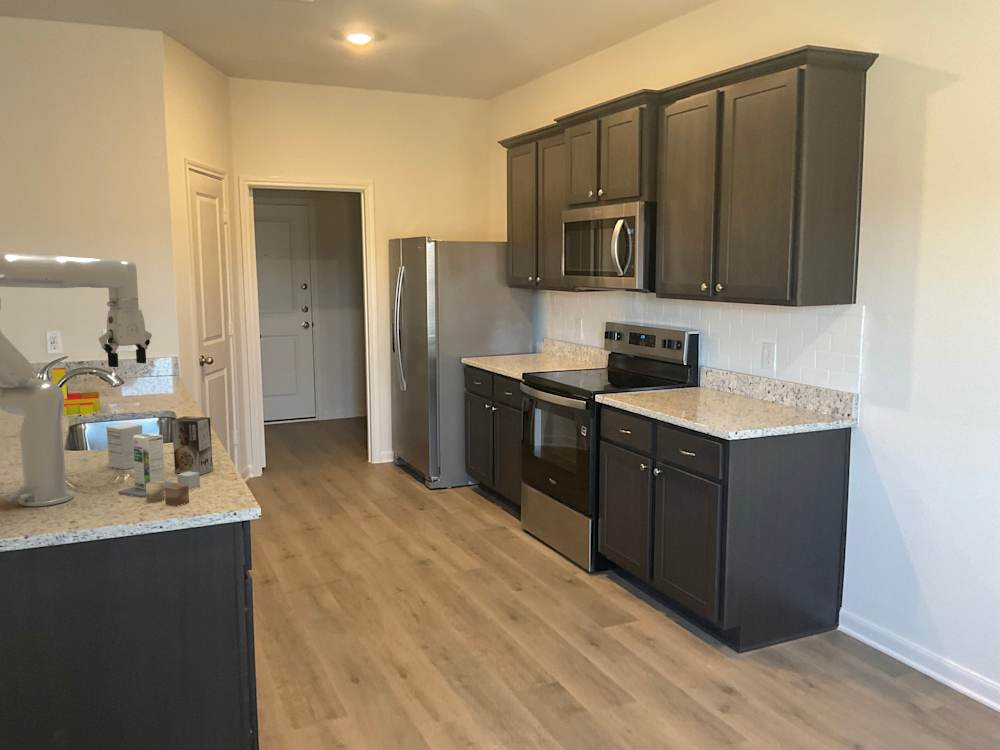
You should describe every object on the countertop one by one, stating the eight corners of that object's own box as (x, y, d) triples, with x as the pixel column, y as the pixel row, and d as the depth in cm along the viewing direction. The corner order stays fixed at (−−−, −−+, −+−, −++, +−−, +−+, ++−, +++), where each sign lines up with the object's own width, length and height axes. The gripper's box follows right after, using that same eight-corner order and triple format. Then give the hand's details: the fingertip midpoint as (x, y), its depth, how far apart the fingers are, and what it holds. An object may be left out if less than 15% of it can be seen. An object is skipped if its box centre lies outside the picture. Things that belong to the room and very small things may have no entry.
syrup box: (134, 488, 220) (130, 435, 219) (153, 483, 225) (150, 431, 224) (147, 491, 218) (144, 438, 216) (166, 486, 223) (163, 434, 221)
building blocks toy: (47, 419, 323) (43, 374, 320) (50, 410, 345) (47, 367, 343) (100, 416, 331) (97, 371, 329) (99, 406, 353) (96, 364, 351)
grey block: (188, 490, 221) (188, 476, 220) (178, 488, 223) (177, 474, 222) (200, 486, 225) (199, 472, 224) (189, 485, 226) (188, 471, 226)
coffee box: (214, 470, 242) (211, 417, 240) (200, 475, 236) (197, 421, 234) (187, 468, 245) (185, 415, 243) (173, 473, 239) (170, 419, 236)
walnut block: (177, 506, 206) (176, 489, 206) (165, 504, 208) (164, 487, 207) (189, 502, 210) (188, 485, 209) (177, 500, 211) (176, 483, 211)
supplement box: (130, 462, 252) (127, 422, 251) (145, 465, 249) (142, 424, 247) (108, 467, 246) (105, 426, 244) (123, 470, 242) (120, 428, 241)
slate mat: (143, 497, 214) (142, 495, 214) (118, 493, 217) (118, 491, 217) (180, 485, 225) (180, 483, 225) (156, 482, 229) (156, 479, 229)
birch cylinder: (155, 503, 209) (154, 486, 208) (142, 501, 211) (141, 484, 210) (168, 498, 213) (167, 481, 212) (156, 496, 215) (155, 480, 214)
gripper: (107, 306, 221) (111, 369, 223) (158, 304, 236) (161, 362, 239) (88, 306, 224) (92, 367, 226) (139, 303, 239) (142, 361, 242)
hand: (127, 365), depth 232 cm, fingers open, 9 cm apart
